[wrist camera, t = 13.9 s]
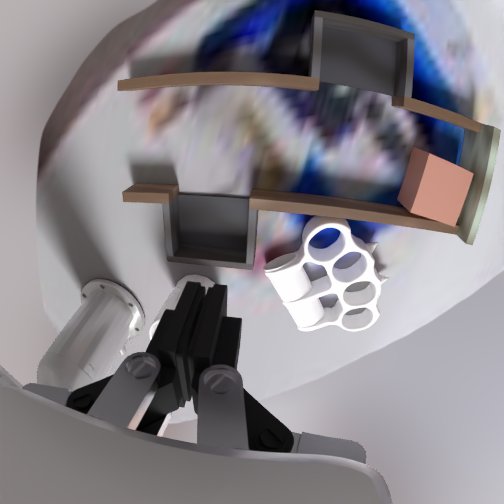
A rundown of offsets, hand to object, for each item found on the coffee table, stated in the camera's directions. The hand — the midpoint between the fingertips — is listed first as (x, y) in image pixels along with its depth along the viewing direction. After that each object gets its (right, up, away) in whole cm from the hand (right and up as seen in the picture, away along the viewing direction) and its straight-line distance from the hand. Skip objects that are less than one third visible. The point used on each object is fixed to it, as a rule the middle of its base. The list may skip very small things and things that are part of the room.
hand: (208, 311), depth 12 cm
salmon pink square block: (+24, +11, +18) cm, 32 cm away
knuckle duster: (+13, 0, +26) cm, 29 cm away
